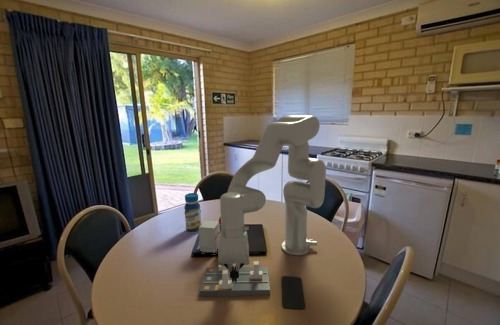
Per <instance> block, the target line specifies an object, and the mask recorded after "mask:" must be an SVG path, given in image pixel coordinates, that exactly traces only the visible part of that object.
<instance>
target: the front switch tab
mask: <svg viewBox="0 0 500 325" xmlns="http://www.w3.org/2000/svg"><path fill="white" fill-rule="evenodd" d="M222 278H223V280H220V282H219V289H232V280H229V278H228V270H223V273H222Z"/></svg>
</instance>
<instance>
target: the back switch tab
mask: <svg viewBox="0 0 500 325" xmlns="http://www.w3.org/2000/svg"><path fill="white" fill-rule="evenodd" d="M218 268H219V271H223V270H228V269H227V268H226V267H225V266H222V265H218ZM228 271H229V270H228Z"/></svg>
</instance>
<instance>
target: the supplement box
mask: <svg viewBox="0 0 500 325" xmlns="http://www.w3.org/2000/svg"><path fill="white" fill-rule="evenodd" d="M220 232H221V230H220V224H219V220H204V221H203V222H201V226H200V227H199V232H198V236H199V237H198V238H199V252H200V251H203V252H213V253H215V252H216V251H217V252H218V250H217V249H218V244H219V235H220ZM217 252H216V253H217Z"/></svg>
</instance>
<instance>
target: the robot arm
mask: <svg viewBox="0 0 500 325" xmlns="http://www.w3.org/2000/svg"><path fill="white" fill-rule="evenodd" d="M320 126H321V125H320V120H319V119H318V117H317V116H314V115H310V114H309V115H308V114H304V115H303V114H301V115H300V114H299V115H298V114H297V115H296V114H294V115H293V114H291V115H290V114H289V115H284V116H281V117H280V118H278V121H276V122H275V121H274V122H270V123H269V124H267V125H266V127H265V128H264V132H263V133H262V136H261V137H260V138H261V139H260V140H259V142H258V145H257V147H256V150H255V152H254V154H253V155H252V157H251V158H250V159H249V160H247V161H246V162H244V164H243V165H242V166H240V168H239V169H237V171H236V172H235V173H234V174H233V177H232V178H231V181H230V184H229V185H228V189H227V192H226V193H223V194H222V195H221V196H220V198H219V204H220V207H219V209H220V217H221V225H220V226H221V230H220V235H219V244H218V250H217V256H218V257H217V258H218V262H217V265H218V266H219V265H222V266H225V267H226V268H227V269H228V270H229V271H230V278H232V282H234V279H235V282H237V278H239V269H240V268H242V267H245V266H248V265H250V264H251V260H250V247H249V246H250V245H249V238H248V237H249V236H248V232H247V231H249V226H248V225H245V215H246V214H249V213H250V214H251V213H256V212H258V211H260V210H262V208H264V207H265V205H266V200H267V197H266V195H265V193H264V192H263V191H262V190H259V189H256V188H254V187H249V186H247V184H248V183H249V181H250V180H251V179H252V178H253V177H254V176H256V175H257V174H260V173H262V172H266V171H269V170H271V169H273V168H274V167H276V165H277V162H278V160H279V158H280V155H281V152H282V150H283V148H284V147H288V155H287V156H288V158H287V159H288V160H287V172H288V175H289V176H290V178H291V177H292V178H294V179H298V180H290V181H288V182H286V183H285V184H284V186H283V190H282V191H283V192H282V193H283V199H284V206H285V207H284V208H285V210H284V211H285V215H284V216H285V217H284V218H285V219H284V221H285V222H284V224H285V225H284V226H285V228H284V229H285V230H284V232H285V234H284V236H285V237H284V241H283V242H282V243H281V250H282V251H283V252H285V253H286V254H288V255H292V256H304V255H306V254H308V253H309V252H310V249H311V248H310V247H311V246H315V247H316V246H318V242H317V240H314V239H313V238H309V239H308V238H307V233H308V228H307V227H308V211H307V210H308V209H307V208H306V207H309V208H313V209H318V208H320V207H321V206H322V205H323V204H324V201H325V200H324V199H325V193H326V192H325V191H326V177H327V175H326V174H327V167H326V165H325V163H324V161H323V160H321V159H320V158H313V157H310V143H309V141H310V140H312V139H313V138H315V137H316V136H317V135H318V133H319V130H320ZM300 180H301V181H300ZM302 180H303V181H304V182H303V181H302ZM305 181H307V182H305ZM308 182H309V183H308ZM234 264H235V266H234ZM234 267H235V269H234Z"/></svg>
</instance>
